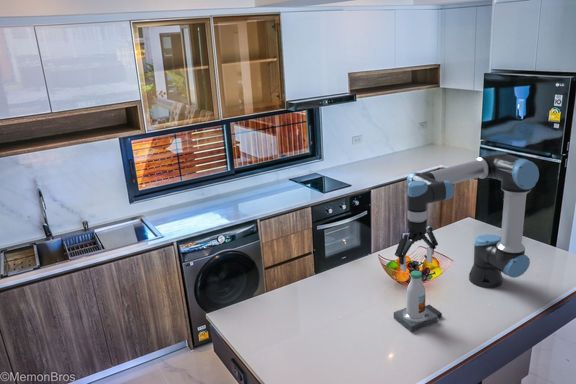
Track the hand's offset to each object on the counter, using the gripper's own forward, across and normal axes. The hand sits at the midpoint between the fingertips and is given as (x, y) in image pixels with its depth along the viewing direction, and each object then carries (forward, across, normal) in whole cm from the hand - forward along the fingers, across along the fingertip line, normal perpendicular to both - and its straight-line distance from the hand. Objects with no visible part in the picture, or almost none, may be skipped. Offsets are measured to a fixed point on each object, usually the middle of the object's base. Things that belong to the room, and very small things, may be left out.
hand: (416, 266), depth 199 cm
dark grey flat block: (+26, -2, 0) cm, 26 cm away
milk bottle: (+23, 0, 0) cm, 23 cm away
